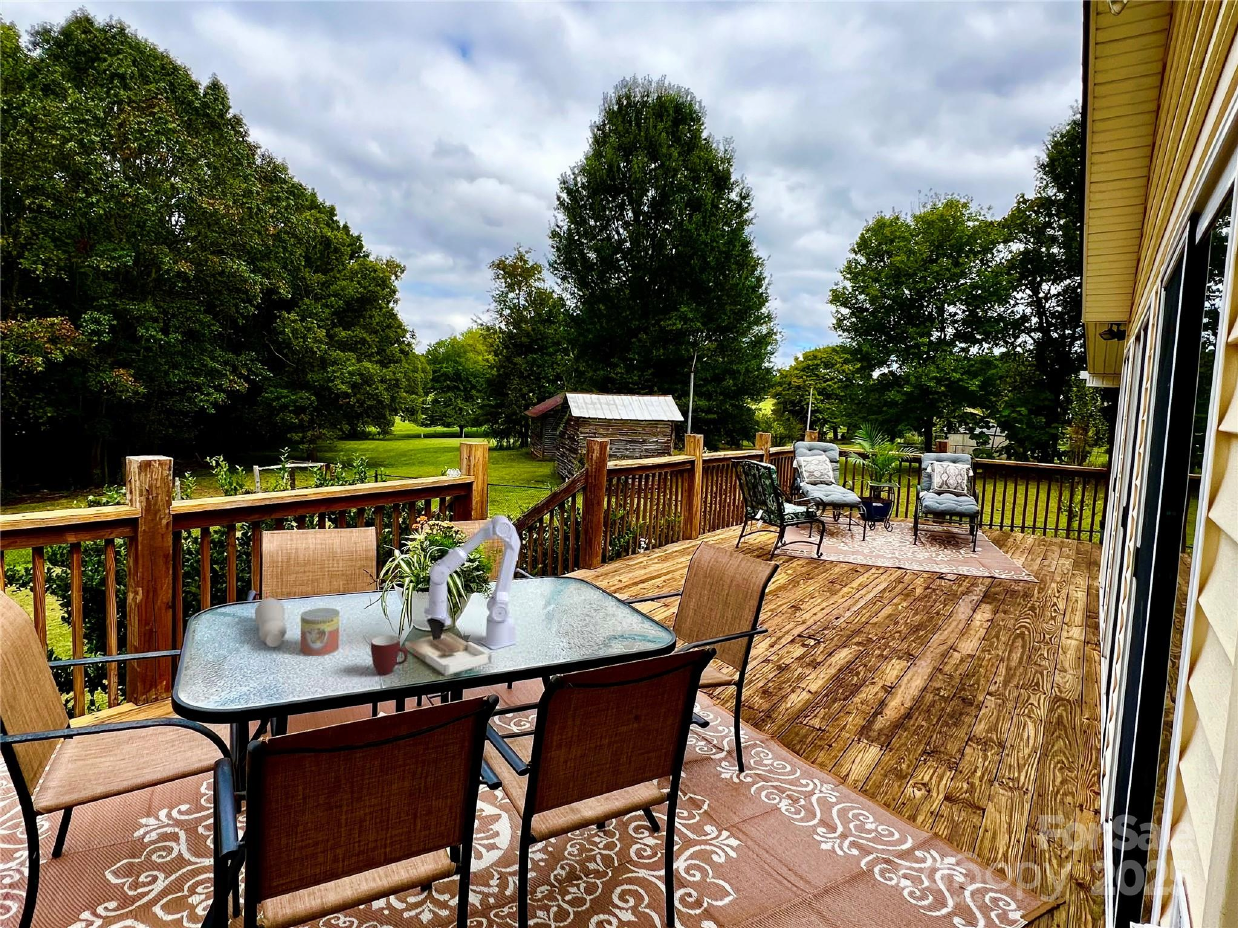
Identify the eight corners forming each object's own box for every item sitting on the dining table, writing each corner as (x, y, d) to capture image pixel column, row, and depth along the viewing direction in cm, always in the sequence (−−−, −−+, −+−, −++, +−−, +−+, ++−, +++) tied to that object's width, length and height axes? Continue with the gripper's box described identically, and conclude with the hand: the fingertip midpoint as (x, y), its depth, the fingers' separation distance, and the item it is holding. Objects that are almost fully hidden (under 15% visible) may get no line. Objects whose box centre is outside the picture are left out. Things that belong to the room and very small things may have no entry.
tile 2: (452, 646, 207) (452, 641, 207) (460, 651, 203) (460, 646, 203) (438, 649, 203) (438, 645, 203) (446, 654, 200) (446, 650, 200)
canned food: (296, 657, 196) (296, 620, 195) (304, 643, 207) (304, 608, 206) (335, 655, 199) (336, 618, 198) (341, 642, 210) (342, 607, 209)
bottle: (248, 614, 222) (251, 646, 197) (265, 591, 224) (269, 621, 198) (273, 624, 226) (278, 658, 201) (289, 603, 228) (296, 633, 203)
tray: (470, 650, 209) (470, 641, 209) (491, 662, 200) (491, 653, 200) (425, 662, 198) (425, 652, 198) (445, 675, 189) (445, 666, 189)
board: (448, 637, 219) (449, 632, 219) (470, 650, 209) (470, 644, 209) (405, 648, 208) (405, 642, 208) (425, 661, 198) (425, 655, 198)
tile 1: (444, 641, 210) (444, 637, 210) (452, 646, 207) (452, 641, 207) (430, 644, 207) (430, 640, 207) (438, 649, 203) (438, 645, 203)
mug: (408, 665, 195) (409, 634, 194) (406, 676, 187) (407, 644, 186) (371, 667, 192) (372, 635, 191) (368, 679, 184) (369, 645, 183)
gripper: (416, 596, 210) (415, 635, 211) (437, 608, 200) (436, 649, 201) (435, 593, 215) (434, 631, 216) (457, 604, 205) (456, 644, 206)
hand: (436, 639), depth 209 cm, fingers closed
